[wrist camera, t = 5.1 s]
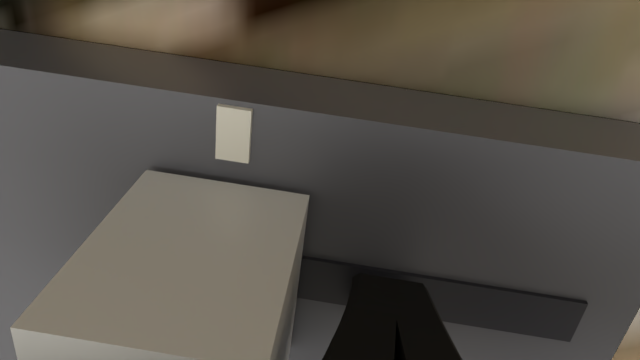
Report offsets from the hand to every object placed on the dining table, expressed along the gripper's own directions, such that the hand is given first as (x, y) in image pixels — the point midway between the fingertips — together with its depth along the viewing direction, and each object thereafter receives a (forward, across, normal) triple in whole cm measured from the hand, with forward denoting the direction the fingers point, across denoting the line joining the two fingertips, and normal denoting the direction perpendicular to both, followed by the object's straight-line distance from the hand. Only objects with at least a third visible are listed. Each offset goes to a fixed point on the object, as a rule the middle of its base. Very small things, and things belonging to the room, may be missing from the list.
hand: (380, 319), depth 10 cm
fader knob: (+1, +3, 0) cm, 3 cm away
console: (+3, +4, +4) cm, 6 cm away
